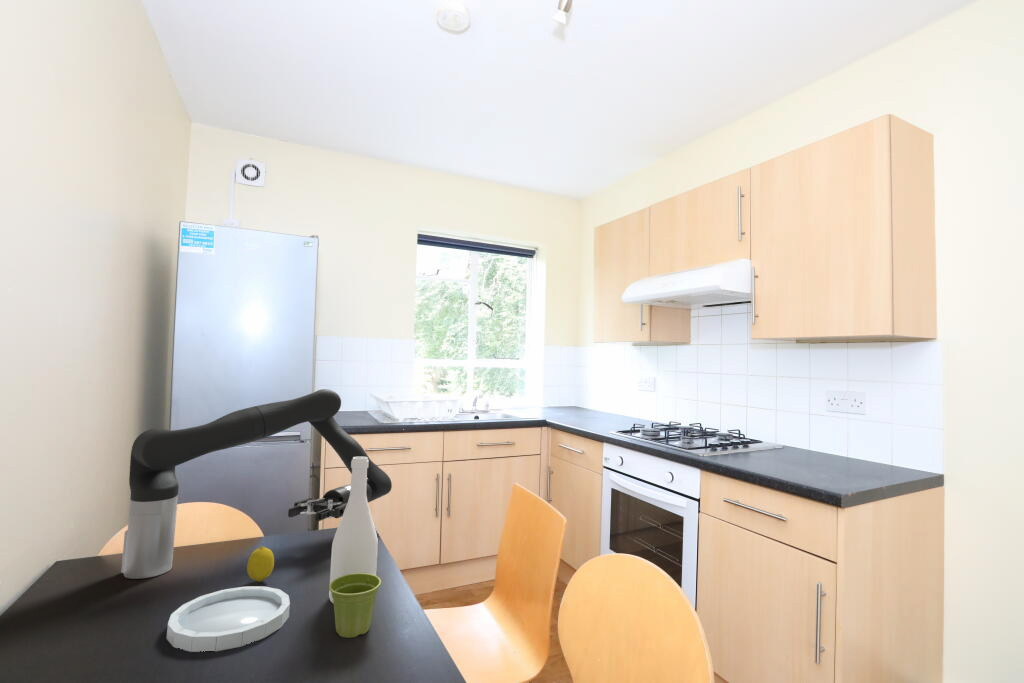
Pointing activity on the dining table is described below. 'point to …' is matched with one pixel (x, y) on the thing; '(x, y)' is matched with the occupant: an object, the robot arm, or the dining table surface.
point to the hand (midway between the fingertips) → (303, 515)
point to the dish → (228, 618)
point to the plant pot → (354, 602)
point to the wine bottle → (355, 530)
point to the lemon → (260, 564)
